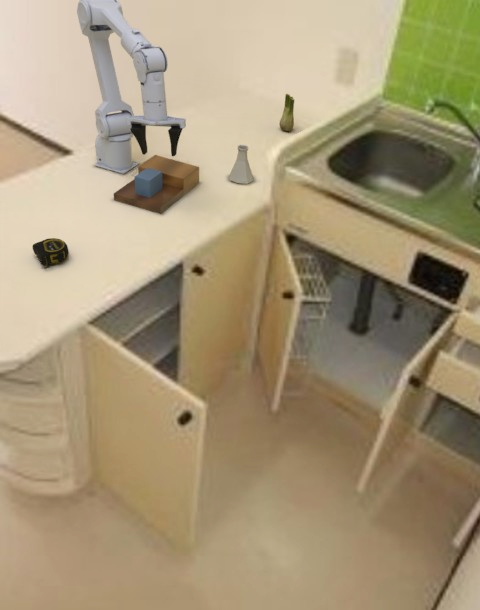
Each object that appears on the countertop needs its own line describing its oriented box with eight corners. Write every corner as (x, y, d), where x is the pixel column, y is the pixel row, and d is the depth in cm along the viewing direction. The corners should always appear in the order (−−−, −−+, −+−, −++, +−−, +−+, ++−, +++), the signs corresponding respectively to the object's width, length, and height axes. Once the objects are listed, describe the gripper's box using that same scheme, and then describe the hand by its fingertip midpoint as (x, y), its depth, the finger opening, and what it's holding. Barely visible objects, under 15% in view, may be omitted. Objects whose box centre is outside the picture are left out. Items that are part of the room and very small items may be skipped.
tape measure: (33, 254, 145) (30, 240, 143) (63, 248, 149) (62, 234, 147) (41, 270, 141) (39, 256, 139) (73, 263, 145) (71, 249, 142)
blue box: (135, 193, 170) (134, 176, 167) (148, 184, 175) (147, 167, 172) (150, 198, 169) (149, 180, 166) (162, 188, 174) (162, 171, 171)
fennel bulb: (292, 133, 220) (296, 99, 213) (278, 131, 220) (281, 97, 213) (293, 127, 225) (297, 93, 218) (279, 125, 225) (282, 91, 217)
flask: (249, 186, 185) (251, 154, 179) (225, 181, 186) (226, 149, 180) (256, 176, 191) (258, 144, 185) (233, 171, 192) (234, 139, 186)
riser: (113, 200, 169) (112, 182, 167) (155, 170, 186) (155, 154, 183) (161, 213, 167) (160, 196, 164) (199, 182, 183) (199, 166, 180)
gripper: (119, 102, 155) (126, 157, 162) (178, 105, 154) (183, 160, 161) (129, 95, 161) (135, 149, 168) (186, 98, 160) (190, 152, 167)
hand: (159, 154), depth 165 cm, fingers open, 7 cm apart
